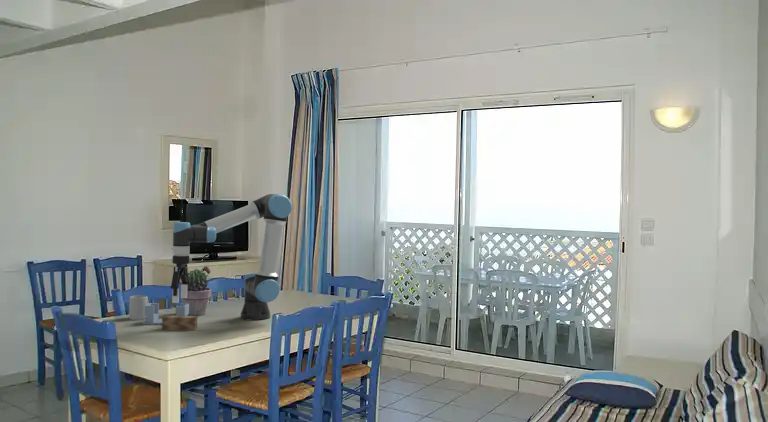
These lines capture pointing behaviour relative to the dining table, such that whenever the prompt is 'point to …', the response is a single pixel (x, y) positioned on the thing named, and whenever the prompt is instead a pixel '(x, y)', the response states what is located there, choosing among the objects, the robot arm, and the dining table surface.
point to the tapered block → (179, 323)
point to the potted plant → (197, 292)
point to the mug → (137, 307)
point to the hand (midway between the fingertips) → (179, 300)
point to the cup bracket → (153, 313)
